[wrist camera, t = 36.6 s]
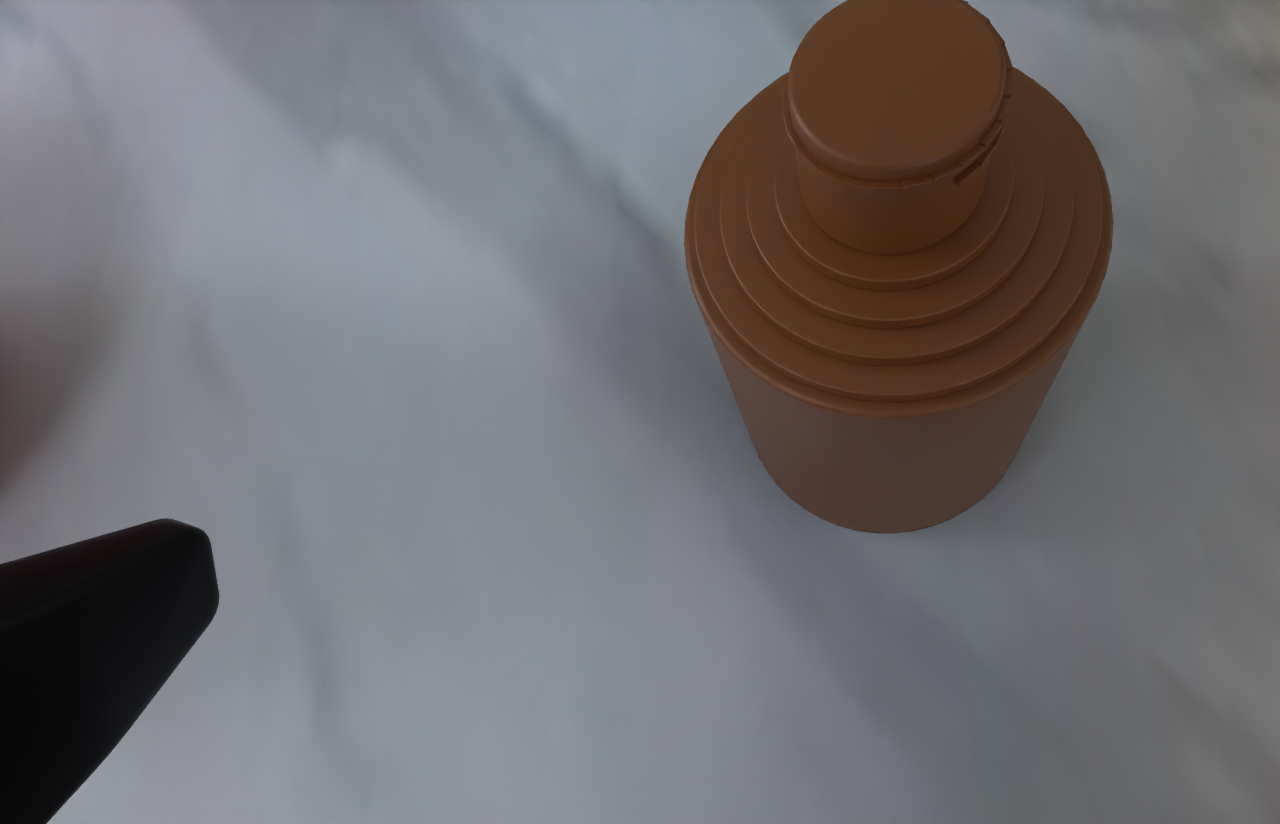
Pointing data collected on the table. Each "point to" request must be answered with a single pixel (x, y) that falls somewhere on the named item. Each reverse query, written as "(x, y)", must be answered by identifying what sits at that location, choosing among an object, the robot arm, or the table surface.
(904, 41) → the bottle
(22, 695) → the robot arm
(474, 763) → the table surface
